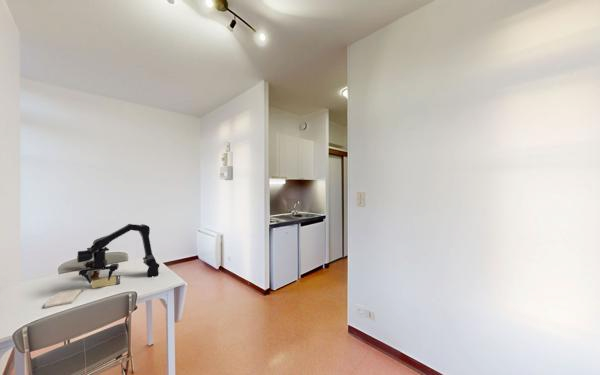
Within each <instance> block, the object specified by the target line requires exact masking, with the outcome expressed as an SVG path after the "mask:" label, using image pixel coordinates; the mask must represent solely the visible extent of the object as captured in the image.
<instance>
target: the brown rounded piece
mask: <svg viewBox="0 0 600 375" xmlns="http://www.w3.org/2000/svg"><path fill="white" fill-rule="evenodd" d="M93 262H94V261H88V262H86V264H85V266H86V268H87V267H90V269H92V268H94V265H93ZM100 271H101V270H99V271H92V272H91V273H90V275H91V281H92V280H94V278H99V277H100Z"/></svg>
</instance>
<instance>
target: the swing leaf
mask: <svg viewBox="0 0 600 375" xmlns="http://www.w3.org/2000/svg"><path fill="white" fill-rule="evenodd" d="M116 275H117V276H116V277H110V280H109V281H108V278H104V279H98V280H91V289H97V288H102V287H108V286H113V285H114V286H115V285H120V284H121V274H116Z"/></svg>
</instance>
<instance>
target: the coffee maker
mask: <svg viewBox="0 0 600 375" xmlns="http://www.w3.org/2000/svg"><path fill="white" fill-rule="evenodd" d="M89 248H90V247H88V248H86V250H89ZM92 255H93V257H92V258H91V259H90V260H89V261H94V253H92ZM86 262H88V261H84V262H82V268H86V266H85V264H86Z"/></svg>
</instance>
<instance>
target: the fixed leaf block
mask: <svg viewBox="0 0 600 375" xmlns="http://www.w3.org/2000/svg"><path fill="white" fill-rule="evenodd" d="M117 275H118V274H112V275H111V277H116V276H117ZM104 278H108V275H106V276H99V278H94V280H98V279H104Z"/></svg>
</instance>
